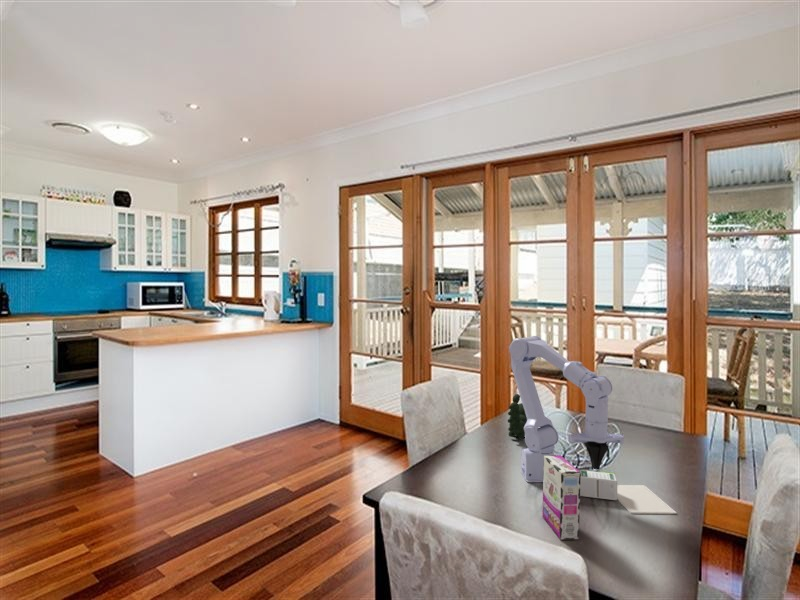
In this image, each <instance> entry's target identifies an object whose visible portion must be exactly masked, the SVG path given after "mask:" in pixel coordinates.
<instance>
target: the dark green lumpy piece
mask: <svg viewBox="0 0 800 600" xmlns="http://www.w3.org/2000/svg"><path fill="white" fill-rule="evenodd" d="M520 400H521V397H520V394H519V393H516V394H514V395H513V397H512V402H511V403H510V405H509V406H508V409H509V411H508V412H507V415H508V416H509V418H508V419H507V423H509V427H508V428H507V430H508V436H509V437H510V438H513V437H515V436H516V437H518V438H519V439H523V438H524V437H525V431H524V426H525V424H526V422H527V417H526V414H525V410H524V407H523V404H522V402H521V403H519V402H520Z"/></svg>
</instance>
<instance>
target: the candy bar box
mask: <svg viewBox="0 0 800 600" xmlns="http://www.w3.org/2000/svg"><path fill="white" fill-rule="evenodd" d="M577 469H578V468H576V467H575V466H573V465H572V464H571V463H570V462H569V461H568V460H567V459H566V458H565V457H563V456H562V455H558V454H557V455H551V456H544V470H543V482H542V486H543V487H542V518H543V519H544V521H545V522H546V523H547V525H548V526H549V527H550V528H551V529H552V531H553V532H554V533H555V535H556V536H557V537H558V539H559V540H560V541H566V540H567V541H574V540H576V541H577V540H580V509H581V507H580V505H581V496H580V480H581V472H580V471H578V470H577Z"/></svg>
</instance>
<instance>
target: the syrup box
mask: <svg viewBox="0 0 800 600" xmlns="http://www.w3.org/2000/svg"><path fill="white" fill-rule="evenodd" d="M576 469H577V470H578V471H580V472H581V480H580V497H587V498H593V499H602V500H610V501H618V500H617V485H618V480H617V476H616V473H615V472H611V471H601V470H590V469H581V468H576Z"/></svg>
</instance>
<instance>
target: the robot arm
mask: <svg viewBox="0 0 800 600" xmlns="http://www.w3.org/2000/svg"><path fill="white" fill-rule="evenodd" d="M508 352H509V355H510V367H511V370H512V374H513V377H514V380H515V384H516V387H517V390H518V394H519V395H520V400H521V403H522V404H523V407H524V410H525V414H526V417H527V422H526V424H525V426H524V431H525V438H524V442H525V444H526V446H527V448H522V450H521V458H520V459H521V461H520V463H521V464H520V465H521V466H520V473H521V475H522V477H523V478H524V480H525V481H526V482H527V483H543V470H544V456H551V455H554V454H555V453H554V451H555V446H556V444H558V442H559V439H560V438H559V432H558V431H557V428H555V426H554V425H553V422H552V420H551V419H549V418H548V417H547V416H546V415H545V413H544V409H543V406H542V403H541V399H540V396H539V394H538V390H537V387H536V385H535V381H534V378H533V375H532V371H531V368H530V367H531V366H532V364H533V362H534V361H535V360H536V359H537V358H542V359H543V360H545V361H546V362H548V363H550V364H551V365H553V366H554V367H555V368H556V369H557V368H558V369H559V370H560V371H562V375H563V377H564V378H565V379H566V380H568V381H570V382H571V383H572V384H573V385H575V386H576V387H578V388H579V389H581V393H582V394H583V396H584V398H585V399H584V402H585V418H584V419H585V422H584V425H585V427H584V432H582V433H573V434H568V442H569V443H570V444H576V443H578V444H579V443H584V446H585V448H586V450H587V453H588V456H589V459H590V465H591V467H592V468H593V469H594V470H600V469H601V464H602V462H603V459H604V457H605V455H606V453H607V452H608V451H609V447H610V446H609V443H610V444H614V443H616V444H620V445H621V444H622V445H623V444H624V442H625V440H624V438H625V437H624V436H623V435H621V434H613V433H608V422H609V421H608V420H609V419H608V417H609V396H610V395H611V393H612V391H613V384H612V382H611V380H609V379H608V378H607V377H606V376H604V375H597V373H596V372H595V371H592V370H590V369H588V368H587V367H585V366H584V365H583V362H581V361H576V360H572V361H571V360H570V361H569V360H568V359H567V358H566V357H564V356H563V355H562V354H561V353H559V352H558V351H557V350H555V349H554V348H552V347H551V346H550V345H549V344H548V343H547V341H546V340H544V339H542V338H541V337H540V336H537V335H531V336H528V337H517V338H514V339H513V340H512V342H511V343H510V345H509V347H508Z"/></svg>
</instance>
